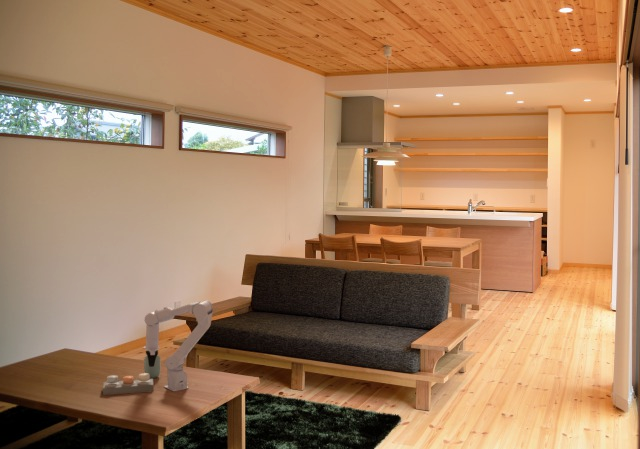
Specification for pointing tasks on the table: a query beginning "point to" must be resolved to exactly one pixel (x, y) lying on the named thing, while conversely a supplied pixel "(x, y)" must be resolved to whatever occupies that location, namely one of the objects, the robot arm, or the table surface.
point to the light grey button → (112, 379)
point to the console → (127, 387)
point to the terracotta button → (128, 379)
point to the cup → (154, 370)
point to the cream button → (144, 377)
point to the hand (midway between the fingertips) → (151, 366)
